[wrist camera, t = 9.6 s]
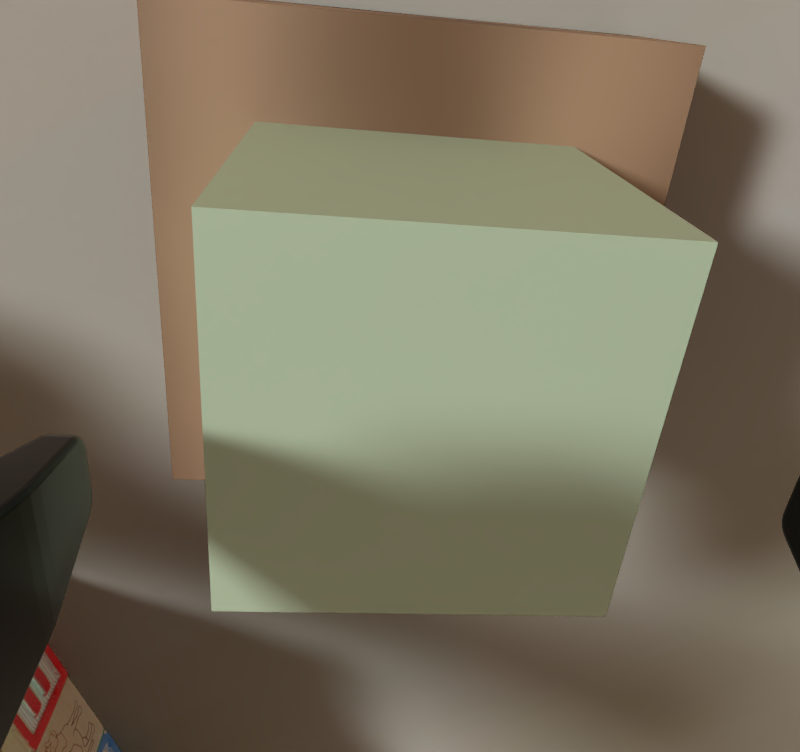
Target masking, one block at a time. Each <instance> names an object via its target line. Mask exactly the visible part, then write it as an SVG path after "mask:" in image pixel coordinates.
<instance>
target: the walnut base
mask: <svg viewBox="0 0 800 752" xmlns="http://www.w3.org/2000/svg"><path fill="white" fill-rule="evenodd" d="M137 8H138V21H139V35H140V48H141V61H142V75H143V88H144V101H145V115H146V128H147V141H148V155H149V168H150V181H151V195H152V208H153V221H154V235H155V248H156V262H157V275H158V288H159V302H160V315H161V328H162V342H163V355H164V368H165V382H166V395H167V408H168V422H169V435H170V448H171V462H172V475H173V479H188V480H205V471H204V451H203V431H202V411H201V390H200V370H199V350H198V330H197V310H196V290H195V270H194V250H193V230H192V210H191V206H192V205H193V204H194V202H195V201H196V200H197V198H198V197H199V196H200V194H201V193H202V192H203V190H204V189H205V188H206V186H207V185H208V184H209V182H210V181H211V180H212V178H213V177H214V176H215V174H216V173H217V172H218V170H219V169H220V168H221V166H222V165H223V164H224V162H225V161H226V160H227V158H228V157H229V156H230V154H231V153H232V152H233V150H234V149H235V148H236V146H237V145H238V144H239V142H240V141H241V140H242V138H243V137H244V136H245V134H246V133H247V132H248V130H249V129H250V128H251V126H252V125H253V124H254V122H268V123H280V124H293V125H305V126H318V127H331V128H343V129H356V130H368V131H381V132H393V133H406V134H419V135H431V136H444V137H456V138H469V139H482V140H494V141H507V142H519V143H532V144H544V145H557V146H570V147H575V148H577V149H578V150H580V151H581V152H583V153H584V154H586V155H587V156H589V157H590V158H592V159H594V160H595V161H597V162H598V163H600V164H601V165H603V166H604V167H606V168H607V169H609V170H610V171H612V172H613V173H615V174H616V175H618V176H619V177H621V178H622V179H624V180H625V181H627V182H628V183H630V184H631V185H633V186H634V187H636V188H637V189H639V190H640V191H642V192H643V193H645V194H646V195H648V196H649V197H651V198H652V199H654V200H655V201H657V202H658V203H660V204H661V205H663V206H664V205H665V202H666V198H667V194H668V190H669V186H670V182H671V178H672V175H673V171H674V167H675V163H676V159H677V155H678V151H679V148H680V144H681V140H682V136H683V132H684V128H685V124H686V121H687V117H688V113H689V109H690V105H691V101H692V97H693V94H694V90H695V86H696V82H697V78H698V74H699V70H700V67H701V63H702V59H703V55H704V51H705V47H706V46H703V45H696V44H689V43H681V42H674V41H667V40H659V39H652V38H645V37H637V36H630V35H620V34H610V33H599V32H589V31H578V30H568V29H558V28H547V27H537V26H526V25H516V24H506V23H495V22H485V21H474V20H464V19H453V18H443V17H433V16H422V15H412V14H401V13H391V12H381V11H370V10H360V9H349V8H339V7H328V6H318V5H308V4H297V3H287V2H276V1H266V0H137Z"/></svg>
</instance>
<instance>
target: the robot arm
mask: <svg viewBox="0 0 800 752" xmlns="http://www.w3.org/2000/svg"><path fill="white" fill-rule="evenodd" d="M91 505H92V490H91V483H90V476H89V469H88V462H87V454H86V448H85V445H84V442H83V440H82V439H81V438H80V437H78V436H73V435H43V436H41V437H39V438H37V439H35V440H33V441H31V442H29V443H27V444H25V445H23V446H21V447H19V448H17V449H16V450H14V451H12V452H10V453H8V454H6V455H4V456H2V457H0V751H1V748H2V746H3V744H4V742H5V739H6V737H7V735H8V733H9V730H10V728H11V726H12V724H13V721H14V719H15V717H16V715H17V712H18V710H19V708H20V705H21V703H22V701H23V699H24V696H25V694H26V692H27V690H28V687H29V685H30V683H31V681H32V678H33V676H34V674H35V672H36V669H37V667H38V665H39V663H40V660H41V658H42V656H43V653H44V651H45V649H46V647H47V644H48V642H49V639H50V637H51V635H52V632H53V630H54V627H55V625H56V622H57V619H58V616H59V613H60V610H61V607H62V603H63V600H64V597H65V593H66V590H67V587H68V584H69V580H70V577H71V574H72V571H73V567H74V564H75V561H76V557H77V554H78V551H79V548H80V544H81V541H82V538H83V535H84V531H85V528H86V525H87V521H88V518H89V515H90V511H91ZM782 528H783V533H784V536H785V538H786V541H787V543H788V545H789V548H790V550H791V552H792V554H793V557H794V559H795V561H796V564H797V566H798V568H799V571H800V476H799V478H798V480H797V483H796V485H795V487H794V490H793V492H792V495H791V497H790V499H789V502H788V504H787V506H786V509H785V511H784V514H783V518H782Z"/></svg>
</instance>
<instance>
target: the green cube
mask: <svg viewBox="0 0 800 752" xmlns="http://www.w3.org/2000/svg"><path fill="white" fill-rule="evenodd" d="M191 210H192V230H193V250H194V270H195V290H196V310H197V330H198V350H199V370H200V390H201V411H202V431H203V451H204V471H205V491H206V511H207V531H208V551H209V571H210V591H211V611H236V612H307V613H377V614H447V615H518V616H588V617H606V613H607V610H608V607H609V603H610V600H611V597H612V594H613V590H614V587H615V584H616V580H617V577H618V574H619V570H620V567H621V564H622V560H623V557H624V554H625V550H626V547H627V544H628V540H629V537H630V534H631V530H632V527H633V524H634V521H635V517H636V514H637V511H638V507H639V504H640V501H641V497H642V494H643V491H644V487H645V484H646V481H647V477H648V474H649V471H650V467H651V464H652V461H653V457H654V454H655V451H656V448H657V444H658V441H659V438H660V434H661V431H662V428H663V424H664V421H665V418H666V414H667V411H668V408H669V404H670V401H671V398H672V394H673V391H674V388H675V384H676V381H677V378H678V375H679V371H680V368H681V365H682V361H683V358H684V355H685V351H686V348H687V345H688V341H689V338H690V335H691V331H692V328H693V325H694V321H695V318H696V315H697V311H698V308H699V305H700V302H701V298H702V295H703V292H704V288H705V285H706V282H707V278H708V275H709V272H710V268H711V265H712V262H713V258H714V255H715V252H716V248H717V245H718V242H717V241H716V240H714V239H713V238H711V237H710V236H708V235H707V234H705V233H704V232H702V231H701V230H699V229H698V228H696V227H695V226H693V225H692V224H690V223H689V222H687V221H686V220H684V219H683V218H681V217H679V216H678V215H676V214H675V213H673V212H672V211H670V210H669V209H667V208H666V207H664V206H663V205H661V204H660V203H658V202H657V201H655V200H654V199H652V198H651V197H649V196H648V195H646V194H645V193H643V192H642V191H640V190H639V189H637V188H636V187H634V186H633V185H631V184H630V183H628V182H627V181H625V180H624V179H622V178H621V177H619V176H618V175H616V174H615V173H613V172H612V171H610V170H609V169H607V168H606V167H604V166H603V165H601V164H600V163H598V162H597V161H595V160H594V159H592V158H590V157H589V156H587V155H586V154H584V153H583V152H581V151H580V150H578V149H577V148H575V147H570V146H557V145H544V144H532V143H519V142H507V141H494V140H482V139H469V138H456V137H444V136H431V135H419V134H406V133H393V132H381V131H368V130H356V129H343V128H331V127H318V126H305V125H293V124H280V123H268V122H254V124H253V125H252V126H251V128H250V129H249V130H248V132H247V133H246V134H245V136H244V137H243V138H242V140H241V141H240V142H239V144H238V145H237V146H236V148H235V149H234V150H233V152H232V153H231V154H230V156H229V157H228V158H227V160H226V161H225V162H224V164H223V165H222V166H221V168H220V169H219V170H218V172H217V173H216V174H215V176H214V177H213V178H212V180H211V181H210V182H209V184H208V185H207V186H206V188H205V189H204V190H203V192H202V193H201V194H200V196H199V197H198V198H197V200H196V201H195V202H194V204H193V205H192V206H191Z"/></svg>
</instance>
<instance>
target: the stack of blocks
mask: <svg viewBox="0 0 800 752" xmlns="http://www.w3.org/2000/svg"><path fill="white" fill-rule="evenodd" d="M0 752H121V751H120V749H119V748H118V746H117V745H116V743H115V742H114V740H113V739H112V737H111V736H110V734H109V733H108V732H107V731H106V730H104V729H103V726H102V724H101V723H100V721H99V720H98V718H97V717H96V716H95V714H94V713H93V711H92V710H91V709H90V707H89V706H88V704H87V703H86V701H85V700H84V699H83V697H82V696H81V695H80V693H79V692H78V690H77V689H76V687H75V686H74V684H73V683H72V682H71V680H70V679H69V678H68V673H67V671H66V670H65V669H64V667H63V666H62V664H61V663H60V661H59V660H58V658H57V657H56V655H55V654H54V653H53V651H52V650H51V648H50V647H49V645H48V644H47V647H46V649H45V651H44V653H43V656H42V658H41V660H40V663H39V665H38V667H37V669H36V672H35V674H34V676H33V678H32V681H31V683H30V685H29V687H28V690H27V692H26V694H25V696H24V699H23V701H22V703H21V705H20V708H19V710H18V712H17V715H16V717H15V719H14V721H13V724H12V726H11V728H10V730H9V733H8V735H7V737H6V739H5V742H4V744H3V746H2V748H1V751H0Z"/></svg>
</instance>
